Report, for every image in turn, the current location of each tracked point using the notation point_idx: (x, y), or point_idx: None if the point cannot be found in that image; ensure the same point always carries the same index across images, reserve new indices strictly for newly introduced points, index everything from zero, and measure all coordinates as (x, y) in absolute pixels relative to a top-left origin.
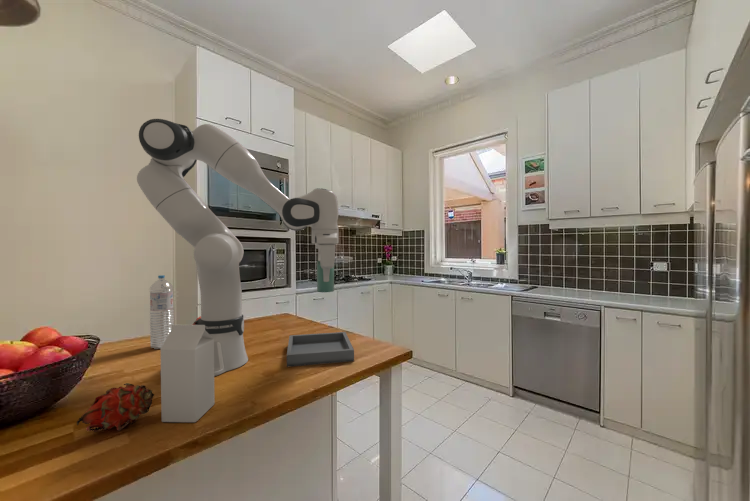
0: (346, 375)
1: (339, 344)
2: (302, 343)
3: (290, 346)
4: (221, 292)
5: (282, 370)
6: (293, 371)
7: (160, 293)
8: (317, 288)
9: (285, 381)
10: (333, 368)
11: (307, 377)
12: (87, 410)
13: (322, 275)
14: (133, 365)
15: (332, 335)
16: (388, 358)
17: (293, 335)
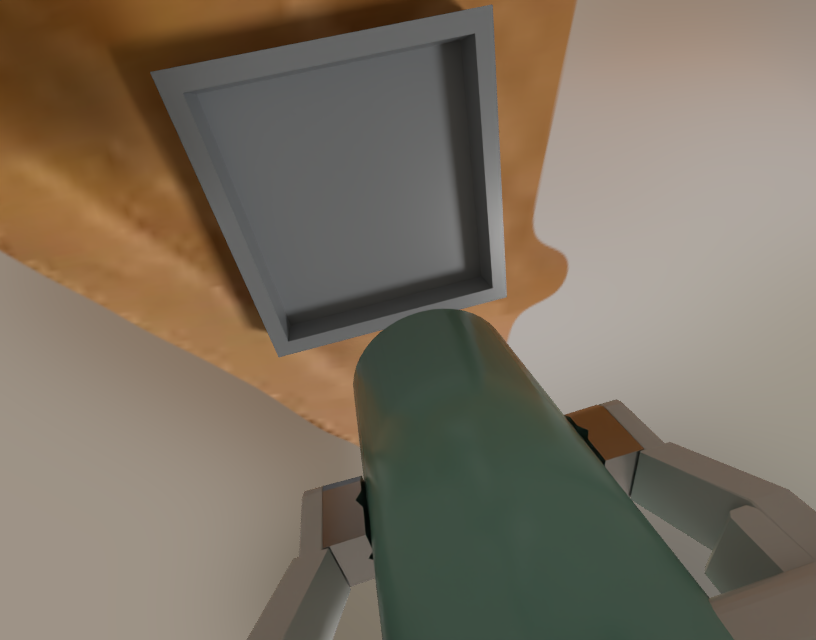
0: (152, 328)
1: (431, 271)
2: (459, 97)
3: (291, 61)
4: None
5: (126, 63)
6: (131, 124)
7: None
8: (405, 337)
9: (12, 111)
10: (203, 279)
11: (89, 199)
12: None
13: (375, 530)
14: None
15: (486, 245)
16: (317, 420)
17: (486, 34)
